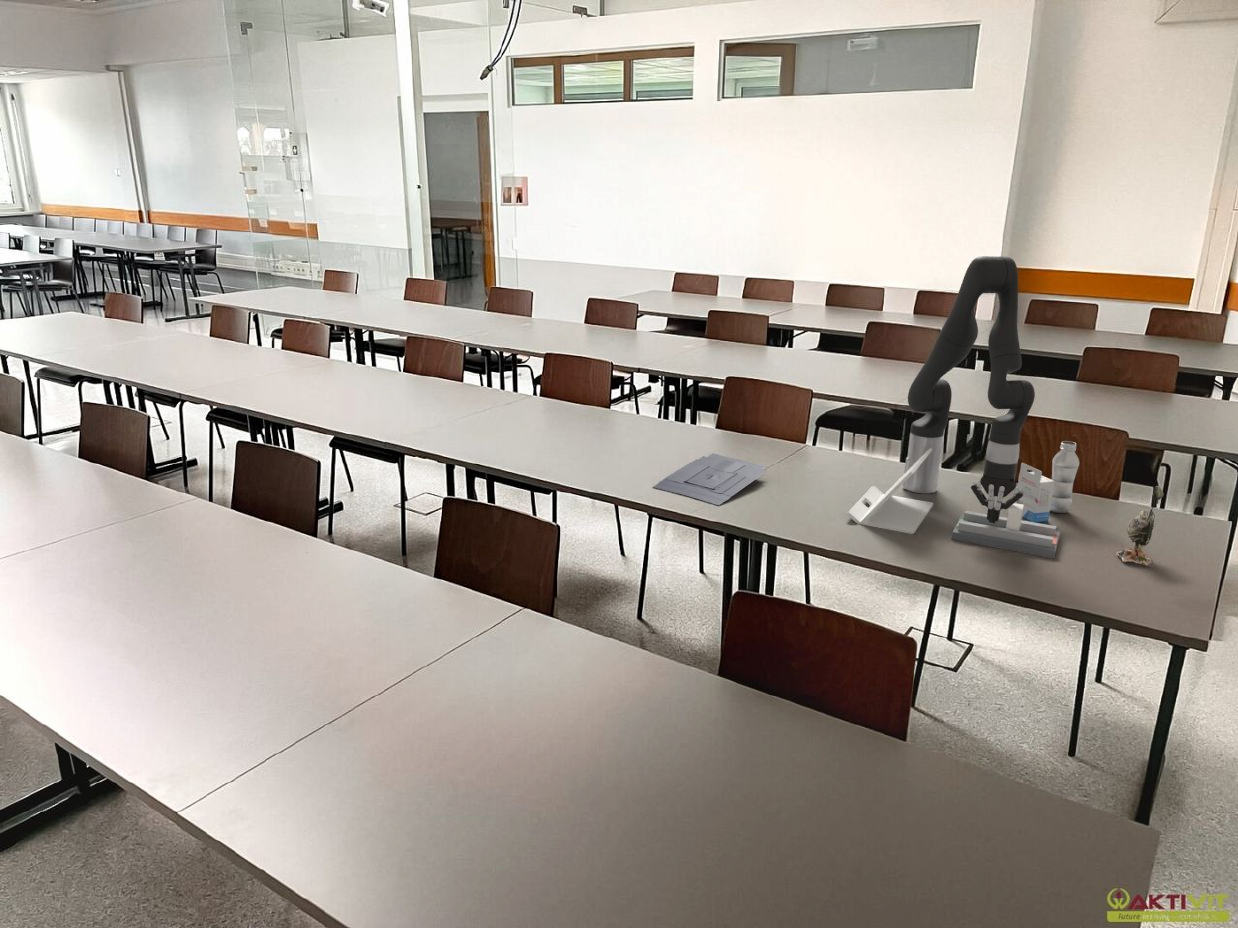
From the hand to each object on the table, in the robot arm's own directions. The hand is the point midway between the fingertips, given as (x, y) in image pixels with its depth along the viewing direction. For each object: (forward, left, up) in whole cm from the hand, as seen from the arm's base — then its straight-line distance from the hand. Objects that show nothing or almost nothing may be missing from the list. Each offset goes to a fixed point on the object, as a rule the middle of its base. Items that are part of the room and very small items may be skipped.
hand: (992, 521), depth 225 cm
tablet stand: (-26, +4, -5) cm, 27 cm away
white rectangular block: (+5, 0, -2) cm, 5 cm away
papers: (-79, +2, -5) cm, 79 cm away
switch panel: (+4, 0, -4) cm, 5 cm away
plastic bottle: (+14, +28, -4) cm, 32 cm away
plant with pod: (+33, +3, -4) cm, 33 cm away
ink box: (+8, +20, -4) cm, 22 cm away
